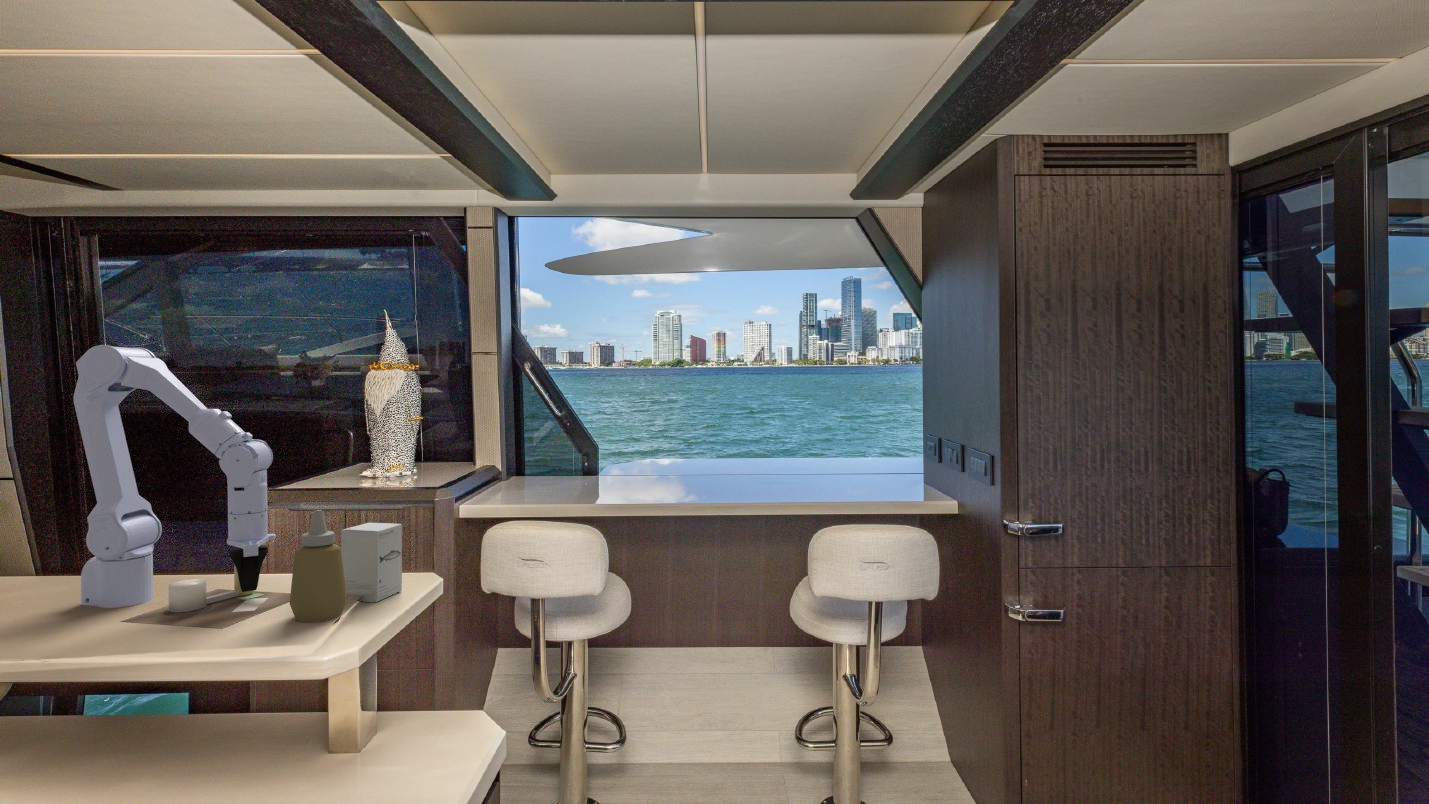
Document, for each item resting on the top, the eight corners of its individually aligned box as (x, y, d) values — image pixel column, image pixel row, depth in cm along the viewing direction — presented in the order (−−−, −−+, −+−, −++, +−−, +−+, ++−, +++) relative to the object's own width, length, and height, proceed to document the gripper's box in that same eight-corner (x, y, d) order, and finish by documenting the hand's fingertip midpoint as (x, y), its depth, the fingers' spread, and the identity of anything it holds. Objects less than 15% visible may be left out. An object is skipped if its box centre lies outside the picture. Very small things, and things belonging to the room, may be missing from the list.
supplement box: (377, 603, 127) (376, 531, 126) (339, 600, 128) (339, 529, 128) (403, 591, 134) (403, 523, 133) (367, 589, 135) (367, 521, 135)
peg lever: (180, 614, 115) (179, 582, 115) (162, 609, 118) (161, 578, 117) (261, 593, 127) (260, 564, 127) (243, 589, 129) (242, 561, 129)
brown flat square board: (120, 629, 113) (120, 620, 113) (218, 595, 131) (218, 588, 130) (222, 636, 110) (222, 627, 110) (308, 601, 128) (308, 593, 128)
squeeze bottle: (358, 618, 118) (358, 508, 118) (317, 634, 111) (316, 516, 110) (320, 613, 121) (319, 505, 121) (277, 628, 113) (276, 513, 113)
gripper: (279, 515, 121) (280, 596, 122) (271, 503, 133) (272, 577, 133) (228, 519, 117) (229, 603, 117) (225, 507, 129) (226, 583, 129)
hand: (249, 590), depth 125 cm, fingers closed
